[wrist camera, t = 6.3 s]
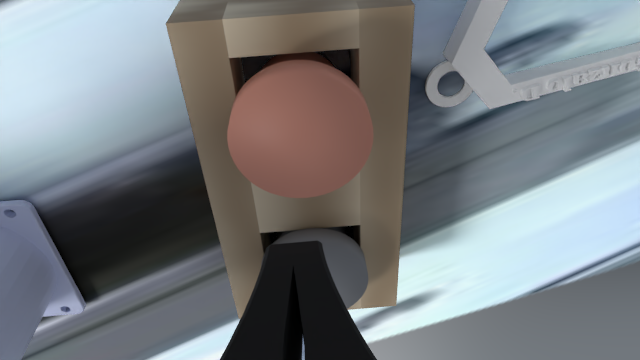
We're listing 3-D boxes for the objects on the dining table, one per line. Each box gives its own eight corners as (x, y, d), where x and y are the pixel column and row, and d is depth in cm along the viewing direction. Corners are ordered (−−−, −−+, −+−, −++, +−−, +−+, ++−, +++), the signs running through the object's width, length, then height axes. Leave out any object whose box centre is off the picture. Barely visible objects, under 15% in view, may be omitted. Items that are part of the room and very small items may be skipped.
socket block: (243, 274, 27) (239, 318, 24) (181, -4, 18) (166, 23, 15) (385, 262, 27) (396, 305, 24) (397, -20, 18) (414, 5, 15)
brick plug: (246, 147, 20) (239, 203, 17) (226, 35, 17) (214, 79, 14) (359, 138, 20) (372, 192, 17) (359, 25, 17) (374, 67, 14)
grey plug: (269, 264, 26) (267, 321, 23) (257, 194, 23) (253, 249, 20) (358, 256, 26) (368, 313, 23) (357, 186, 23) (368, 239, 20)
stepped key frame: (749, -98, 18) (791, -93, 17) (715, 29, 21) (748, 43, 20) (412, -4, 19) (425, 9, 17) (425, 107, 22) (437, 126, 20)
